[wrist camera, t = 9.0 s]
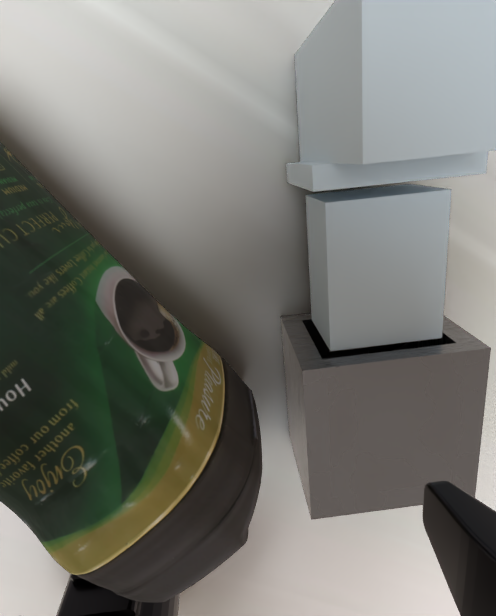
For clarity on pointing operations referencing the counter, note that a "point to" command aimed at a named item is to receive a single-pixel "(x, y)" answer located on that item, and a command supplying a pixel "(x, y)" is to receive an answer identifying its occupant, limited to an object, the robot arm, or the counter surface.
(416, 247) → the end cover
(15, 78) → the counter surface
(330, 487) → the housing
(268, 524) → the counter surface
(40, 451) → the coffee jar
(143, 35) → the counter surface
